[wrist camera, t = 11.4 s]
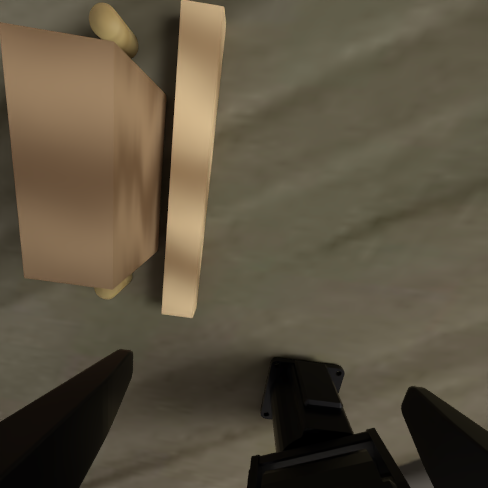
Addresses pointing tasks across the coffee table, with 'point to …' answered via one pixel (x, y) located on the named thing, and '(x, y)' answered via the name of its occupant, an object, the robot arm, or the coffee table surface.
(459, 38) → the coffee table surface
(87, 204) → the thick tan wooden block
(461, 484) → the robot arm
